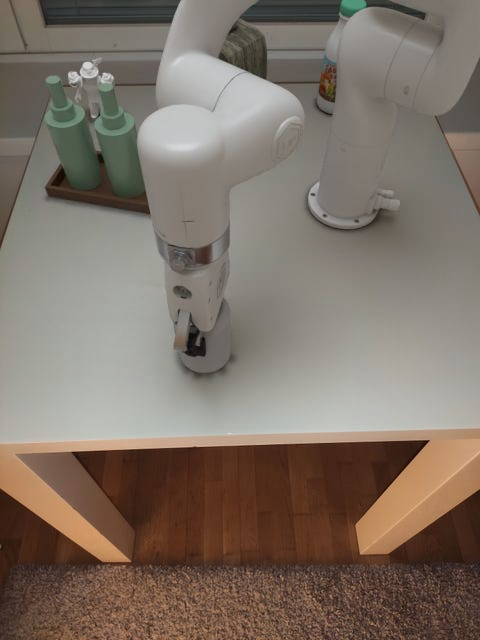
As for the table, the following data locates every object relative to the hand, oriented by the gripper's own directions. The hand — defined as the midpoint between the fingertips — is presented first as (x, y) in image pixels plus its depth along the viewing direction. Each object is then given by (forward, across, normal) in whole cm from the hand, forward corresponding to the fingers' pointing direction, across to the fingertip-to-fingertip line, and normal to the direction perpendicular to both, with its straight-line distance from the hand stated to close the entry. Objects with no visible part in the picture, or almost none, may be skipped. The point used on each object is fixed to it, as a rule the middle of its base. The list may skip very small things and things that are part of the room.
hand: (202, 325), depth 62 cm
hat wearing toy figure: (+7, +49, +36) cm, 61 cm away
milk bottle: (+7, +65, -11) cm, 66 cm away
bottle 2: (+7, +30, +22) cm, 38 cm away
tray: (+7, +30, +21) cm, 37 cm away
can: (+8, 0, 0) cm, 8 cm away
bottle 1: (+7, +30, +31) cm, 44 cm away
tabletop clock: (+7, +55, +11) cm, 57 cm away
